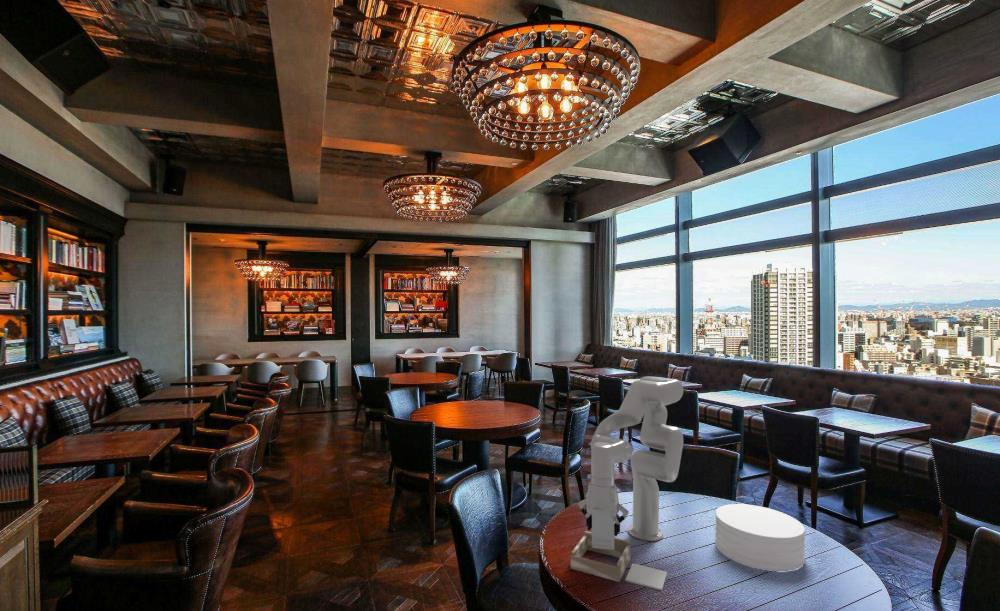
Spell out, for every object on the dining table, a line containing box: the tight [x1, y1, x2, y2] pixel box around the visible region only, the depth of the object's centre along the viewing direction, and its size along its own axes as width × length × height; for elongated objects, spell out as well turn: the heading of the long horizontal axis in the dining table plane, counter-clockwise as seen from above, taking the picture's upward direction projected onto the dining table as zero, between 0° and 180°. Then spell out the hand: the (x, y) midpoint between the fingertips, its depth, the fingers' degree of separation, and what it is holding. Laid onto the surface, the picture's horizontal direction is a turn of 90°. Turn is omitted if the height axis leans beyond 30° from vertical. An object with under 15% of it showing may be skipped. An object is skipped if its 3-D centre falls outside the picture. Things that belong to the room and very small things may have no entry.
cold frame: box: [570, 530, 632, 583], centre depth 161 cm, size 16×16×6 cm
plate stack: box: [714, 503, 806, 571], centre depth 171 cm, size 28×28×12 cm
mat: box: [625, 562, 668, 591], centre depth 153 cm, size 11×11×1 cm
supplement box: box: [591, 509, 615, 550], centre depth 161 cm, size 7×7×13 cm
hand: (603, 531), depth 161 cm, fingers closed on supplement box, 8 cm apart
